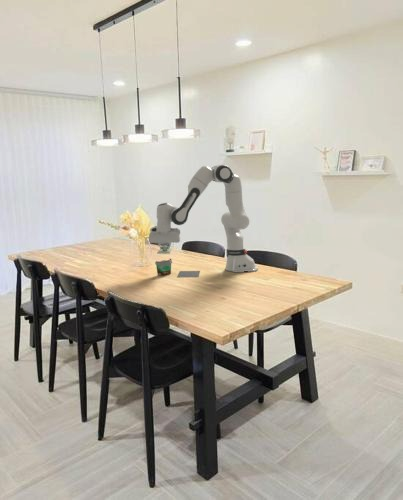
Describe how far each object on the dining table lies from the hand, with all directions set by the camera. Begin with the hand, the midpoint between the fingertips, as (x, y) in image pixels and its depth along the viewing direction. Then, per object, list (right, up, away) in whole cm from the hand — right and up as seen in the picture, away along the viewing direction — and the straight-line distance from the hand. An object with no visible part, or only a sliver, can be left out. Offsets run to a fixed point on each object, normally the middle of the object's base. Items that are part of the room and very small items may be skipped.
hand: (164, 249), depth 258 cm
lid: (0, -2, 0) cm, 2 cm away
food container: (+1, -17, +3) cm, 18 cm away
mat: (+16, -17, +3) cm, 23 cm away
